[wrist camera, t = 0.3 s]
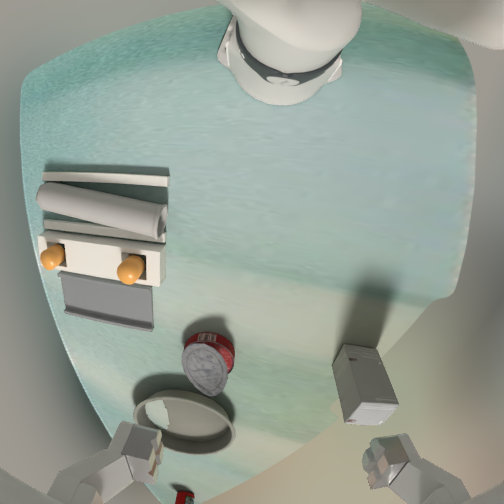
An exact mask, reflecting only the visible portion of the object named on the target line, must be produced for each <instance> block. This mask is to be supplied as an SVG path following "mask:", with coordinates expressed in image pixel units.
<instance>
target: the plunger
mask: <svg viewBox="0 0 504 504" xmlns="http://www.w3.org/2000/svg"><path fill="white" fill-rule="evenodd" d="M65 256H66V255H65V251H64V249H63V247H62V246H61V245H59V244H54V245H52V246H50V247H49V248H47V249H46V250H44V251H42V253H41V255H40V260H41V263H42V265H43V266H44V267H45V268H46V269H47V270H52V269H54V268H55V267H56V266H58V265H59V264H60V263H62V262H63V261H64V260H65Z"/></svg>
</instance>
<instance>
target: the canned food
mask: <svg viewBox="0 0 504 504" xmlns="http://www.w3.org/2000/svg"><path fill="white" fill-rule="evenodd" d="M234 357H235V351H234V347H233V346H232V344H231V343H230V341H229V340H227V339H226V338H225V337H223V336H221V335H219V334H216V333H212V332H201V333H197V334H195V335H193V336H191V337H190V338H189V339H188V341H187V342H186V345H185V348H184V351H183V354H182V365H183V369H184V372H185V374H186V375H187V377H188V379H189V381H190V382H191V383H192V384H193V385H194V386H195V387H196V388H197V389H198V390H200V391H201V392H202V393H203V394H205V395H207V396H216V395H218V394H219V393H220V392H221V391H222V390H223V389H224V387H225V385H226V382H227V379H228V374H229V373H230V372H231V371H232V369H233V367H234Z"/></svg>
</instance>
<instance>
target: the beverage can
mask: <svg viewBox="0 0 504 504" xmlns="http://www.w3.org/2000/svg"><path fill="white" fill-rule="evenodd" d="M194 497H195V496H194V495H193V494H192V493H190V492H187V491H180V492H178V493H177V497H176V502H175V504H194Z"/></svg>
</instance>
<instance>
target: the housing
mask: <svg viewBox="0 0 504 504" xmlns="http://www.w3.org/2000/svg"><path fill="white" fill-rule="evenodd" d="M169 180H170V176H159V175H144V174H125V173H101V172H42V181H77V182H101V183H120V184H136V185H150V186H163V187H168V186H169ZM44 228H45V229H54V230H62V231H70V232H78V233H87V234H95V235H103V236H112V237H120V238H128V239H137V240H145V241H153V242H162V243H164V242H165V241H166V233H167V232H165V231H163V233H162V236H161V237H160V238H159V239H158V240H156V239H154V237H151V236H147V235H143V234H139V233H135V232H131V231H127V230H123V229H119V228H115V227H110V226H106V225H101V224H91V223H82V222H72V221H62V220H52V219H46V220H44ZM58 243H62V244H65V254H66V258H65V260H64V261H63V262H62V263H60V264H59V265H58V266H56V267H55V268H54V269H58V270H63V271H68V272H74V273H79V274H85V275H90V276H96V277H101V278H107V279H113V280H119V281H120V279H119V278H118V276H117V268H118V266H119V265H120V264H121V263H122V262H123V261H124V260H125V259H126V258H127V257H128V256H129V253H134V254H141V255H146V271H144V272H143V273H142V274H141V276H140V277H139V278H138V279H137V281H136V282H135V283H138V284H144V285H151V286H157V287H160V286H161V284H162V283H163V281H164V279H165V277H166V245H163V244H155V243H147V242H139V241H130V240H122V239H114V238H106V237H98V236H90V235H81V234H73V233H65V232H57V231H49V230H48V231H46V232H44V233H42V234H40V235H38V244H39V253H40V255H41V253H42V251H44V250H46V249H47V248H49V247H50V246H52V245H54V244H58ZM40 261H41V260H40ZM41 266H43V265H42V263H41ZM43 267H44V266H43Z"/></svg>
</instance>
